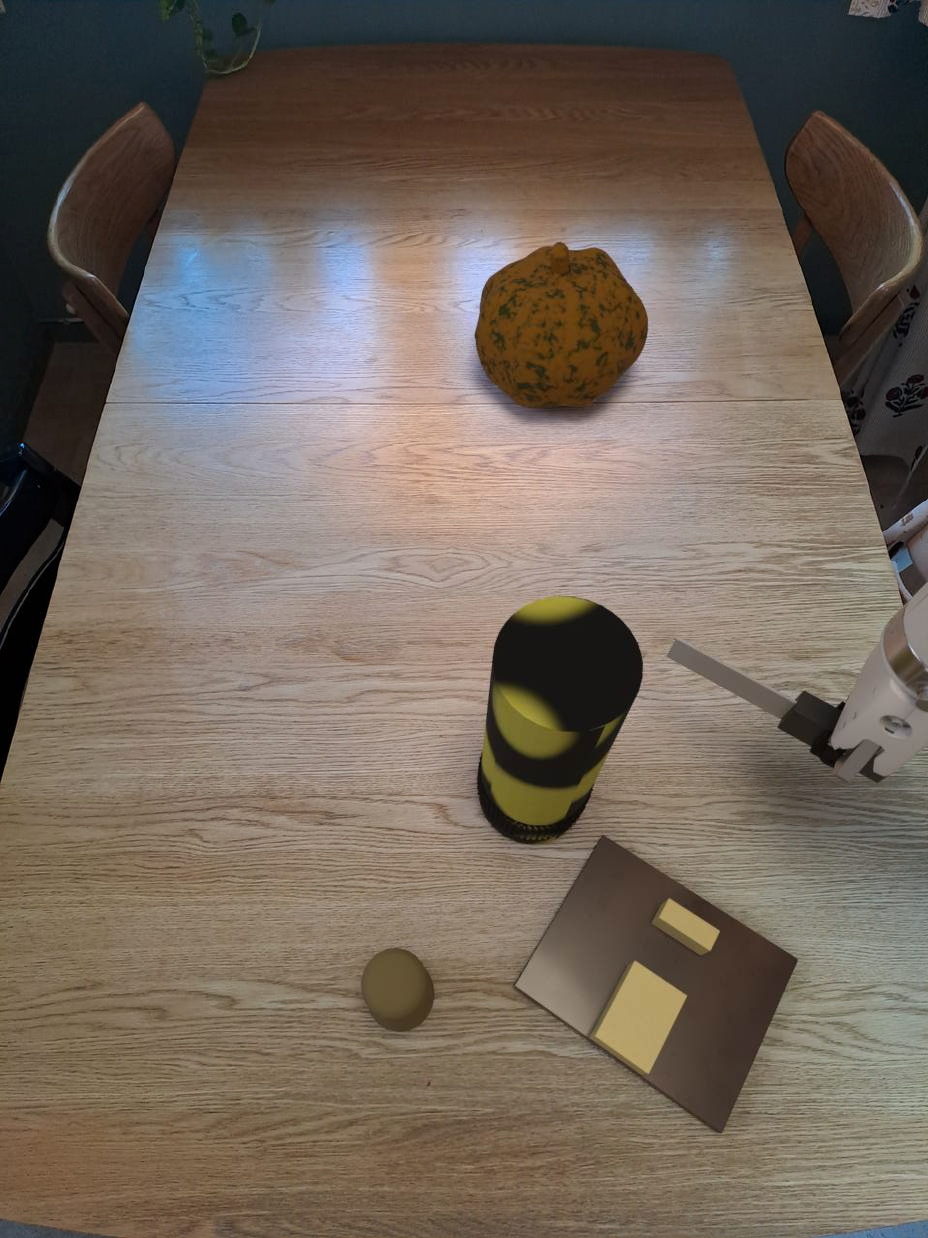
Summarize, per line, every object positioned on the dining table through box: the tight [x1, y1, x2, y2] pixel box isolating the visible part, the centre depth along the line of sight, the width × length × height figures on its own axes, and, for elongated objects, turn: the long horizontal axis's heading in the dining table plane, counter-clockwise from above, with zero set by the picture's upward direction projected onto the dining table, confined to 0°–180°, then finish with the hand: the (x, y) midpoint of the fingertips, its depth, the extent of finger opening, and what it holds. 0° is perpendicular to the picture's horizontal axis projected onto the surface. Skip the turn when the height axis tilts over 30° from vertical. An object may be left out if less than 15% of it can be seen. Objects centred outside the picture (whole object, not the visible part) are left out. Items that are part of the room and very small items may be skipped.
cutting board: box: [513, 834, 799, 1134], centre depth 75 cm, size 20×16×2 cm
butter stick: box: [590, 961, 687, 1074], centre depth 71 cm, size 5×7×3 cm
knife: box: [666, 636, 890, 784], centre depth 71 cm, size 20×2×4 cm, turn 57°
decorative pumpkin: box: [473, 241, 649, 408], centre depth 102 cm, size 20×21×20 cm
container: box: [476, 595, 644, 845], centre depth 70 cm, size 11×11×30 cm
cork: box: [360, 947, 435, 1033], centre depth 69 cm, size 6×6×11 cm
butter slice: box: [652, 898, 720, 955], centre depth 74 cm, size 5×2×3 cm, turn 56°
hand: (834, 744), depth 71 cm, fingers closed on knife, 2 cm apart
